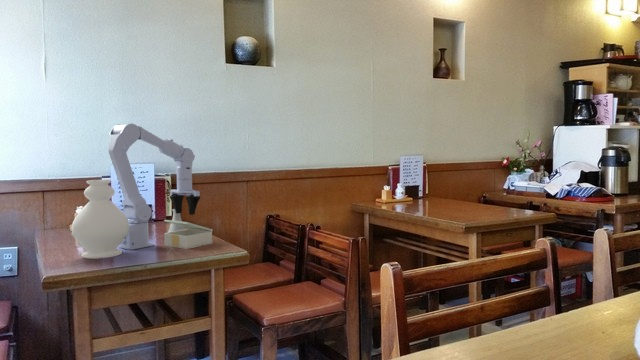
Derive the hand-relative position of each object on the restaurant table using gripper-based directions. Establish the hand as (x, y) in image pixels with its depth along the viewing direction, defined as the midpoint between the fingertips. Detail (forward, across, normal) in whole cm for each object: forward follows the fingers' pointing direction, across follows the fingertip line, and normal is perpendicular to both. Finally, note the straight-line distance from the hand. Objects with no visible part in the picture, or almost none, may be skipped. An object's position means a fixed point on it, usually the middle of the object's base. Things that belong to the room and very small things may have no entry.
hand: (185, 213), depth 203 cm
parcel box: (+10, -11, +8) cm, 17 cm away
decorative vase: (+10, +1, +35) cm, 36 cm away
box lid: (+3, -11, +8) cm, 14 cm away
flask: (+10, +12, -6) cm, 17 cm away
